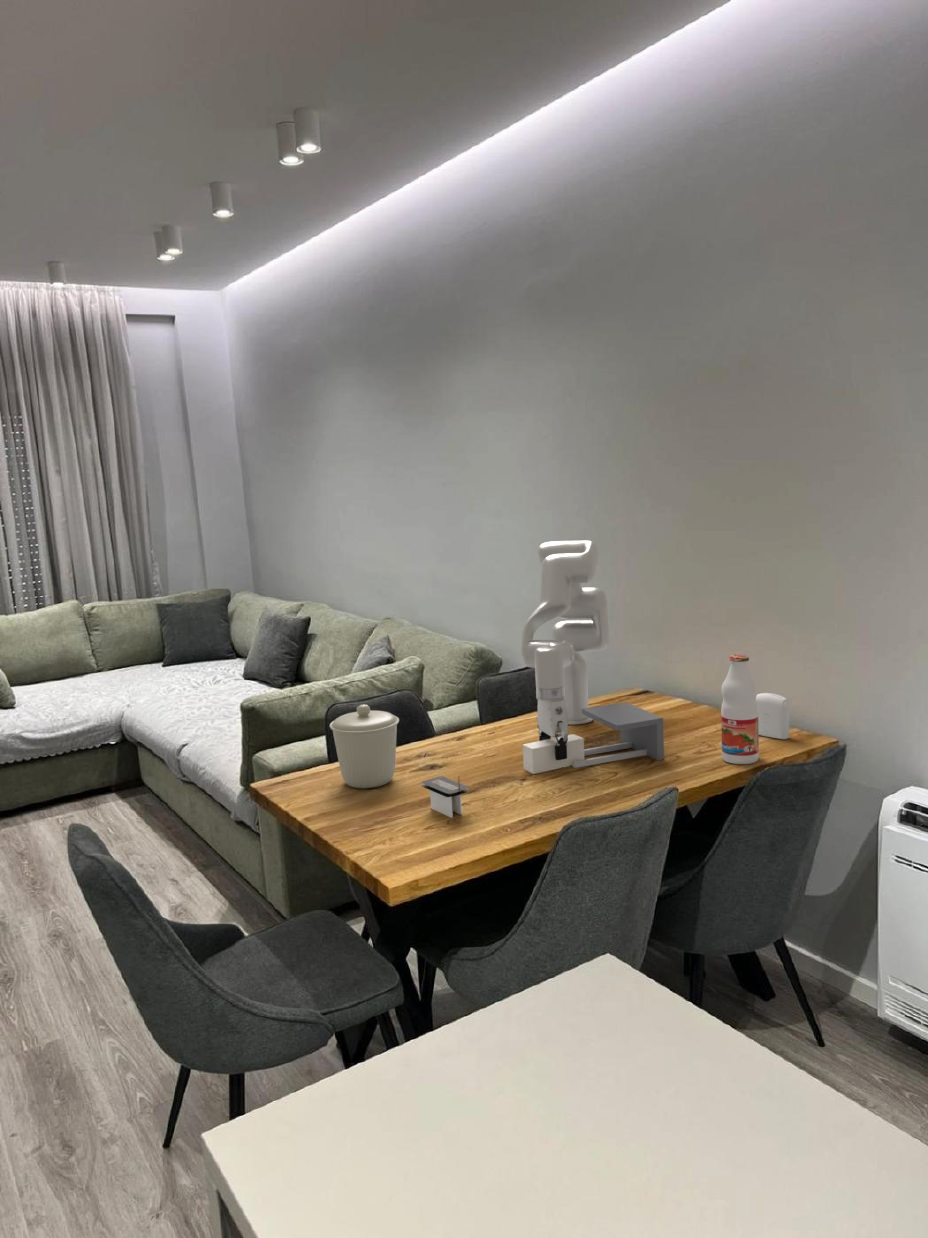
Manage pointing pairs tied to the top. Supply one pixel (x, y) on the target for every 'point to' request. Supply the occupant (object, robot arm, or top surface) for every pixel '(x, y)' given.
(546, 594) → the robot arm
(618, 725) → the overhang shelf
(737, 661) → the fruit juice
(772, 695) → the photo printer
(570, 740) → the cream rectangular prism
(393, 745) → the canister
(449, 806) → the architectural model
